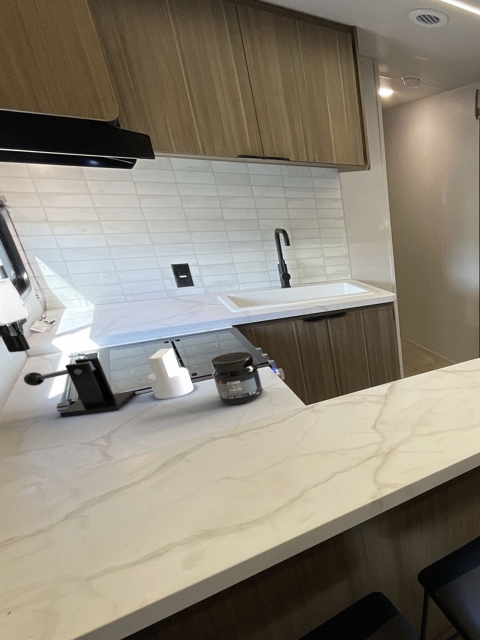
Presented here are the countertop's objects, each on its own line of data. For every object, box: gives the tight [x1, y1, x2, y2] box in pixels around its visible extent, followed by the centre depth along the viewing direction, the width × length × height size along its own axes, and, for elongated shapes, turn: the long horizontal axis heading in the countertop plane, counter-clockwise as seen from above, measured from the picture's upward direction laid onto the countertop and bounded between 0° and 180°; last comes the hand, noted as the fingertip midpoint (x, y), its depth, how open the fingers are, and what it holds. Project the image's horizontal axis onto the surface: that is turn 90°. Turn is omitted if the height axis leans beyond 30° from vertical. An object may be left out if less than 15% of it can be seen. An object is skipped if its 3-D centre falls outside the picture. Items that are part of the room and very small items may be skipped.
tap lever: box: [23, 361, 95, 387], centre depth 103 cm, size 14×3×3 cm, turn 108°
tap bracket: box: [59, 356, 137, 418], centre depth 106 cm, size 12×10×13 cm
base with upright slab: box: [147, 347, 194, 400], centre depth 114 cm, size 9×9×12 cm
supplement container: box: [210, 351, 264, 406], centre depth 110 cm, size 10×10×12 cm
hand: (19, 350), depth 99 cm, fingers closed
